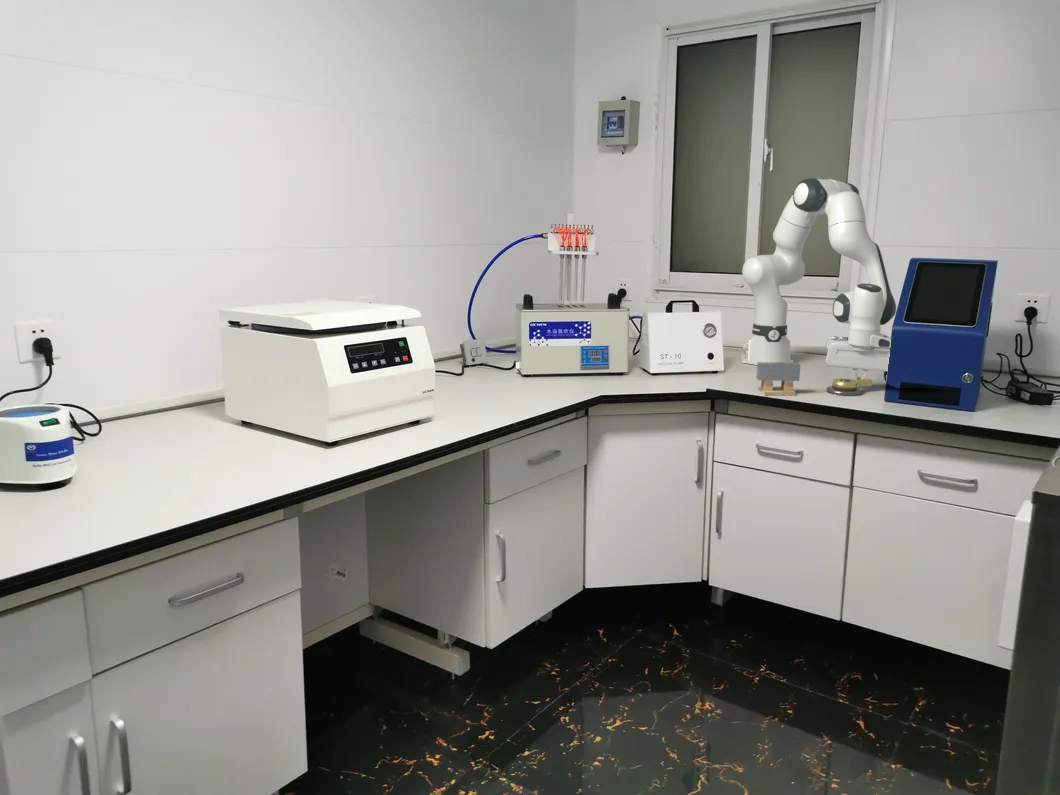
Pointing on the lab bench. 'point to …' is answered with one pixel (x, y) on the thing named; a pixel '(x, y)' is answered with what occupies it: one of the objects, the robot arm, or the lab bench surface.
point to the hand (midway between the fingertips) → (858, 383)
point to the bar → (778, 371)
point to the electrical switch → (473, 352)
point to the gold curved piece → (850, 384)
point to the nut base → (844, 392)
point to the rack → (777, 388)
